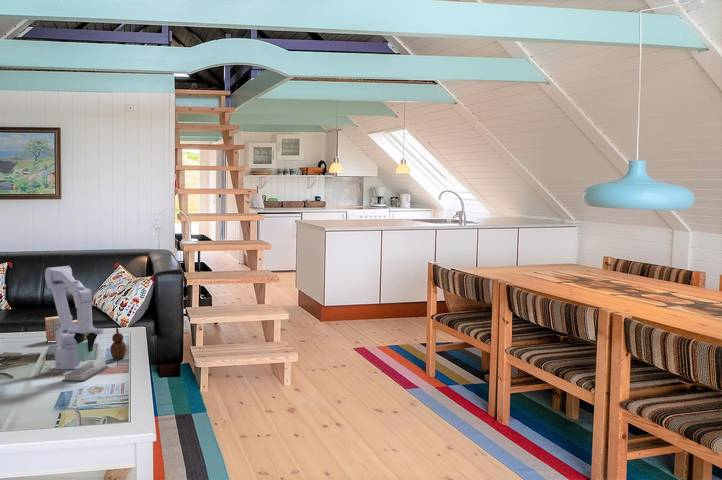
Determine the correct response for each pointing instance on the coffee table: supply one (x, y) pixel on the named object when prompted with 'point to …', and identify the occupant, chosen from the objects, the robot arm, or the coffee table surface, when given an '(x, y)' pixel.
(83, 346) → the door panel
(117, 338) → the wooden figurine
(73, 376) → the track
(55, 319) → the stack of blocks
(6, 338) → the coffee table surface
